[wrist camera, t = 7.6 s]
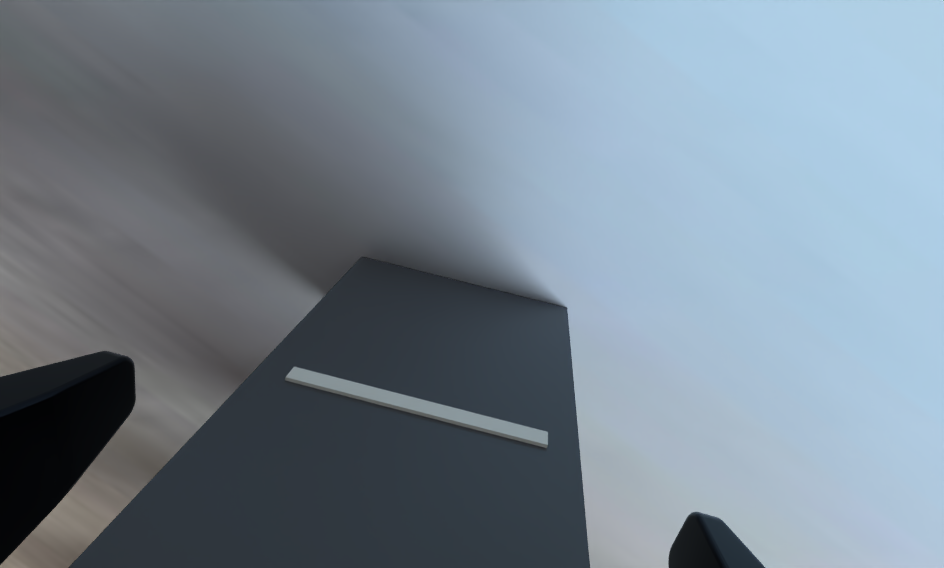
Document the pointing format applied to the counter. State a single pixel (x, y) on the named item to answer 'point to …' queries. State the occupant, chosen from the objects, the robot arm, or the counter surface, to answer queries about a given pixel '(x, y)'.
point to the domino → (380, 443)
